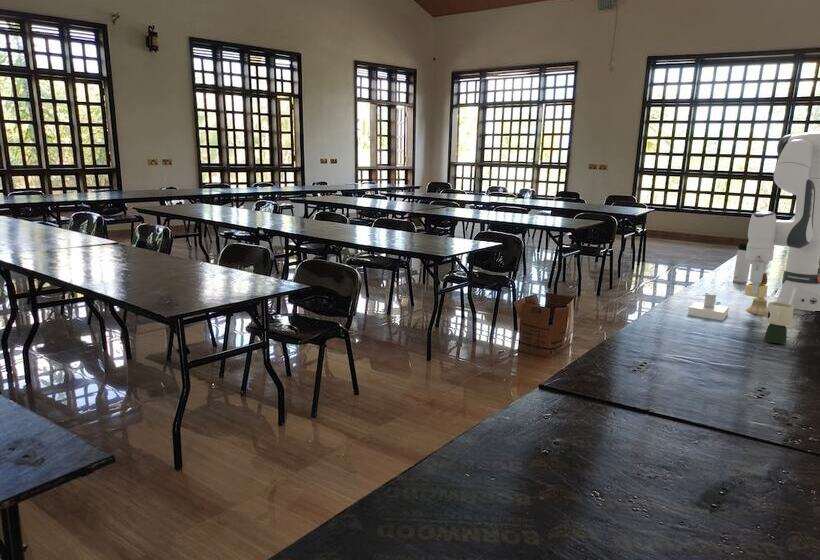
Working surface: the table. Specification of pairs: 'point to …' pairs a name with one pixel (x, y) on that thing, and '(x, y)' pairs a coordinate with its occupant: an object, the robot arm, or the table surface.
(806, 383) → the table surface
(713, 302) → the block
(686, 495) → the table surface
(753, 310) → the hand bell
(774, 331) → the character mug
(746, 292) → the brass ring
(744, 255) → the travel mug
